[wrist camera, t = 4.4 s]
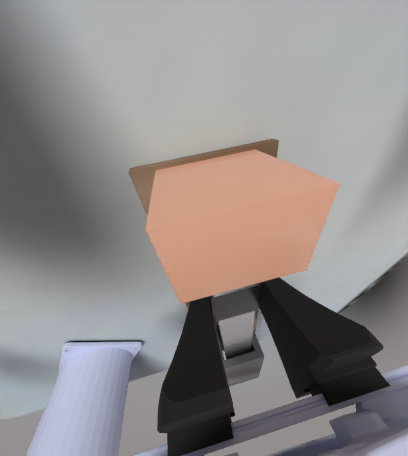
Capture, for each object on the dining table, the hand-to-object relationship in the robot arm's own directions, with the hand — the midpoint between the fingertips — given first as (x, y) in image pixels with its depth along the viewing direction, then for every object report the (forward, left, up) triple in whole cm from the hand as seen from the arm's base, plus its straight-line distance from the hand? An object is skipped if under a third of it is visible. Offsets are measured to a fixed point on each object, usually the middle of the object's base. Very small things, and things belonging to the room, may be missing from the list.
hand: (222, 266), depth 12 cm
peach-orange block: (+4, +3, -1) cm, 6 cm away
